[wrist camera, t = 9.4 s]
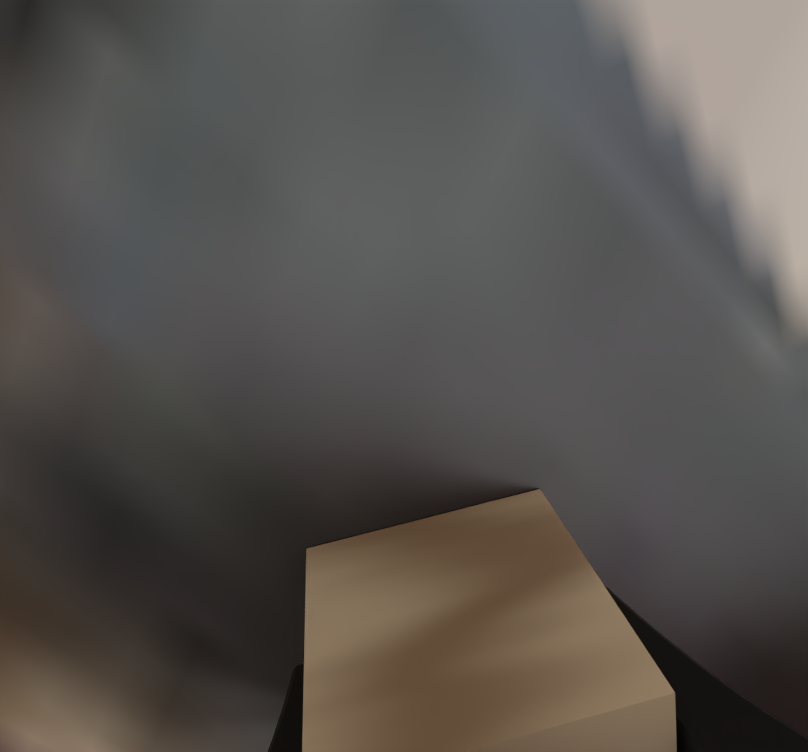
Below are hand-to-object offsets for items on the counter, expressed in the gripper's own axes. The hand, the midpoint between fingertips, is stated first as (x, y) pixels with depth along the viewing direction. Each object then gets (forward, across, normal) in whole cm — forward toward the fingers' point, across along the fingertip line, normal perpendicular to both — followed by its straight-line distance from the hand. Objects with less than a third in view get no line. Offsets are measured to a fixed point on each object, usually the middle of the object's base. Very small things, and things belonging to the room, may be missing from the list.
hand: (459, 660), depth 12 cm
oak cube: (+1, 0, 0) cm, 1 cm away
